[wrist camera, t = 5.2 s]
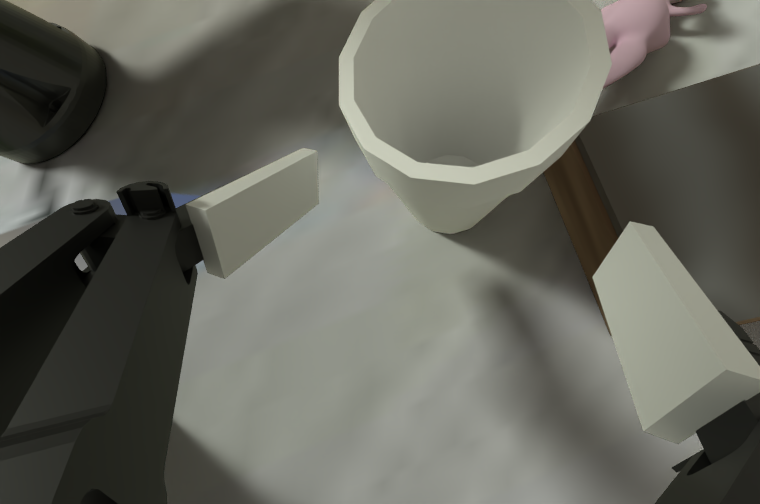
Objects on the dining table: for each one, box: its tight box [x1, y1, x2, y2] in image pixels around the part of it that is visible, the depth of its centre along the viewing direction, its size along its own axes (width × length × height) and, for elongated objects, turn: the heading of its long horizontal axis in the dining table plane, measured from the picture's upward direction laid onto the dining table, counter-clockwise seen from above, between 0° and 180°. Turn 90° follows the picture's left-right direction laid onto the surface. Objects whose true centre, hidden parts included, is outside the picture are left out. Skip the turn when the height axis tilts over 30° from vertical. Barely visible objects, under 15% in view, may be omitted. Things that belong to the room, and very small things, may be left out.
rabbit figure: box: [601, 0, 707, 89], centre depth 21 cm, size 6×6×15 cm
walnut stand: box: [544, 64, 760, 336], centre depth 18 cm, size 14×13×5 cm
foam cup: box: [339, 0, 612, 234], centre depth 17 cm, size 10×9×13 cm
